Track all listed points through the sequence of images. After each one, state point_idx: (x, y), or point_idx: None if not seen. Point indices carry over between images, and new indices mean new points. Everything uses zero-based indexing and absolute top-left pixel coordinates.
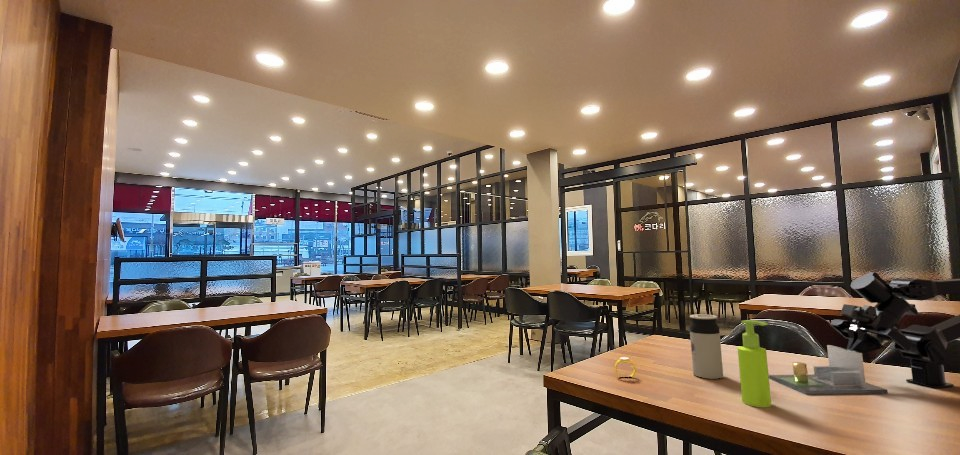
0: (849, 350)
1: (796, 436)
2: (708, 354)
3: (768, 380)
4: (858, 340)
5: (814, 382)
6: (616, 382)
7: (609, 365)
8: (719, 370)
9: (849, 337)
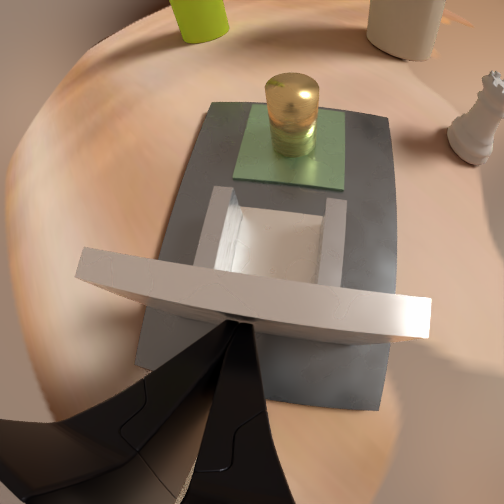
0: (162, 277)
1: (106, 43)
2: None
3: (171, 4)
4: (114, 430)
5: (270, 168)
6: None
7: None
8: (373, 27)
9: (284, 496)
